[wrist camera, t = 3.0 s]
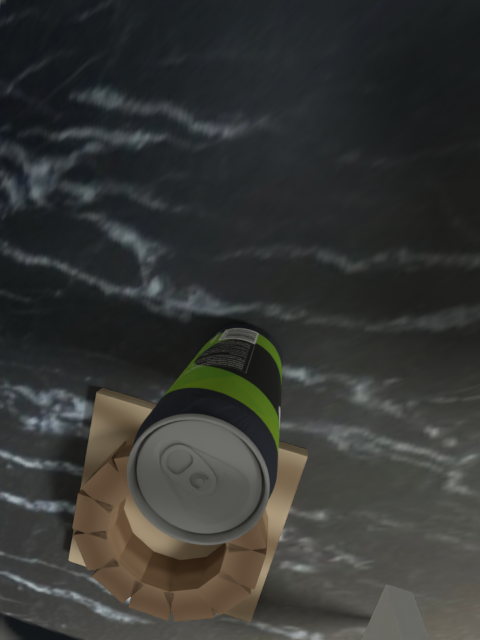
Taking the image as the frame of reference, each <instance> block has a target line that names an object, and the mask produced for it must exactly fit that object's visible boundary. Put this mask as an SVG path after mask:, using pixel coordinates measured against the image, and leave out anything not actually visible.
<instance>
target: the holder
mask: <svg viewBox="0 0 480 640" xmlns="http://www.w3.org/2000/svg"><path fill="white" fill-rule="evenodd" d="M156 405H157V404H155V403H151V402H148V401H145V400H141V399H138V398H135V397H131V396H128V395H125V394H121V393H118V392H115V391H112V390H108V389H105V388H102V389H100V390H99V391H98V392H96V398H95V404H94V410H93V416H92V422H91V428H90V434H89V440H88V446H87V452H86V458H85V464H84V470H83V476H82V482H81V488H80V492H79V493H78V497H77V503H76V509H75V515H74V521H73V527H72V529H74V531H73V537H72V543H71V549H70V555H69V561H71V562H74V563H77V564H80V565H83V566H86V567H87V570H95V572H94V573H93V575H92V577H93V578H95V579H96V580H97V581H98V582H99V583H100V584H101V585H102V586H104V587H105V588H106V589H107V590H108V591H109V592H110V593H111V594H112V595H114V596H115V597H116V598H117V599H118V600H119V601H120V602H121V603H123V602H124V601H126V600H127V599H128V598H129V597H131V599H130V603H129V607H130V608H133V609H136V610H139V611H142V612H145V613H147V614H150V615H153V616H156V617H159V618H162V619H165V620H168V618H169V615H170V612H172V615H173V618H174V620H175V621H186V620H197V619H208V618H214V616H215V611H216V612H217V613H218V614H219V615H220V616H221V615H222V614H226V615H229V616H232V617H235V618H238V619H241V620H244V621H247V622H250V623H251V620H252V617H253V614H254V611H255V608H256V605H257V602H258V600H259V597H260V594H261V591H262V588H263V585H264V582H265V579H266V576H267V573H268V570H269V568H270V565H271V562H272V559H273V556H274V553H275V550H276V547H277V544H278V541H279V539H280V536H281V533H282V530H283V527H284V524H285V521H286V518H287V515H288V512H289V509H290V507H291V504H292V501H293V498H294V495H295V492H296V489H297V486H298V483H299V480H300V478H301V475H302V472H303V469H304V466H305V463H306V460H307V457H308V455H307V449H304V448H300V447H297V446H294V445H290V444H287V443H284V442H280V441H279V449H278V470H277V479H276V484H275V487H274V490H273V492H272V494H271V496H270V498H269V500H268V503H267V506H266V509H265V511H264V513H263V515H262V517H261V518H260V520H259V521H258V522H257V524H256V525H255V526H254V527H253V528H252V529H251V530H250V531H248V532H247V533H246V534H244V535H243V536H241V537H239V538H237V539H235V540H232V541H229V542H226V543H222V544H216V545H198V544H191V543H187V542H183V541H180V540H177V539H175V538H173V537H170V536H168V535H167V534H165V533H163V532H162V531H160V530H159V529H157V528H156V527H155V526H153V525H152V524H151V523H150V522H149V521H148V520H147V519H146V518H145V517H144V516H143V514H142V513H141V512H140V510H139V509H138V508H137V506H136V504H135V502H134V500H133V498H132V496H131V493H130V490H129V487H128V481H127V464H128V459H129V456H130V453H131V450H132V447H133V443H134V439H135V437H136V434H137V432H138V430H139V428H140V426H141V425H142V423H143V421H144V420H145V419H146V418H147V416H148V415H149V414H150V413H151V411H152V410H153V409H154V408H155V406H156Z"/></svg>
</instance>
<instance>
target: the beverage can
mask: <svg viewBox="0 0 480 640" xmlns="http://www.w3.org/2000/svg"><path fill="white" fill-rule="evenodd" d="M281 385H282V356H281V352H280V349H279V347H278V345H277V343H276V342H275V341H274V339H273V338H272V337H271V336H270V335H269V334H268V333H267V332H265V331H264V330H262V329H260V328H258V327H256V326H253V325H249V324H232V325H229V326H226V327H224V328H222V329H220V330H218V331H217V332H216V333H214V334H213V335H212V336H211V338H210V339H209V340H208V341H207V343H206V344H205V345H204V346H203V348H202V349H201V350H200V351H199V353H198V354H197V355H196V356H195V358H194V359H193V360H192V361H191V363H190V364H189V365H188V366H187V368H186V369H185V370H184V371H183V373H182V374H181V375H180V376H179V378H178V379H177V380H176V381H175V383H174V384H173V385H172V386H171V388H170V389H169V390H168V391H167V393H166V394H165V395H164V396H163V398H162V399H161V400H160V401H159V403H158V404H157V405H156V406H155V408H154V409H153V410H152V411H151V413H150V414H149V415H148V416H147V418H146V419H145V420H144V421H143V423H142V425H141V426H140V428H139V430H138V432H137V434H136V437H135V439H134V443H133V447H132V450H131V453H130V456H129V459H128V464H127V481H128V487H129V490H130V493H131V496H132V498H133V500H134V502H135V504H136V506H137V508H138V509H139V510H140V512H141V513H142V514H143V516H144V517H145V518H146V519H147V520H148V521H149V522H150V523H151V524H152V525H153V526H155V527H156V528H157V529H159V530H160V531H162V532H163V533H165V534H167V535H168V536H170V537H173V538H175V539H177V540H180V541H183V542H187V543H191V544H198V545H216V544H222V543H226V542H229V541H232V540H235V539H237V538H239V537H241V536H243V535H244V534H246V533H247V532H248V531H250V530H251V529H252V528H253V527H254V526H255V525H256V524H257V522H258V521H259V520H260V518H261V517H262V515H263V513H264V511H265V509H266V506H267V503H268V500H269V498H270V496H271V494H272V492H273V490H274V487H275V484H276V479H277V470H278V449H279V427H280V406H281Z"/></svg>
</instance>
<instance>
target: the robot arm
mask: <svg viewBox="0 0 480 640" xmlns="http://www.w3.org/2000/svg"><path fill="white" fill-rule="evenodd" d="M361 640H429V637H428V634H427V631H426V629H425V626H424V623H423V620H422V618H421V615H420V612H419V609H418V607H417V604H416V601H415V598H414V596H413V593H412V592H409V591H406V590H403V589H400V588H397V587H394V586H390V585H387V584H386V586H385V588H384V590H383V592H382V595H381V597H380V599H379V601H378V603H377V606H376V608H375V610H374V612H373V615H372V617H371V619H370V621H369V623H368V626H367V628H366V630H365V632H364V635H363V637H362V639H361Z"/></svg>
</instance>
